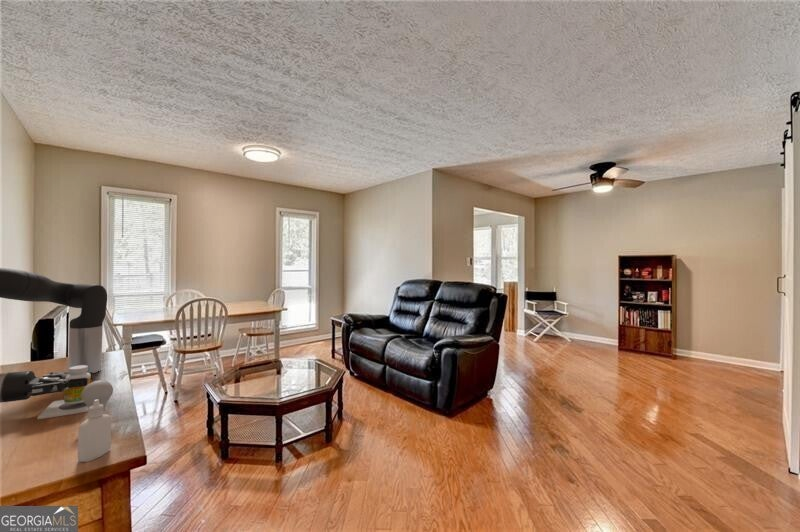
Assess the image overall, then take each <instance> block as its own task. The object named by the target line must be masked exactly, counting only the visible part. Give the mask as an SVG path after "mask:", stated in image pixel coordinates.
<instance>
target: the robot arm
mask: <svg viewBox="0 0 800 532" xmlns="http://www.w3.org/2000/svg"><path fill="white" fill-rule="evenodd" d="M0 298H1V299H7V300H14V301H21V302H33V303H34V302H37V303H39V302H40V303H41V302H42V303H43V302H47V303H54V304H57V305H62V306H66V307H70V308H74V309H81V310H80V311H81V312H80V314H79V316H76V317H75V318H72V319H70V321H69V326H68V327H69V329H68V332H69V333H68V336H69V337H68V357H67V358H68V362H67V371H52V372H48V374H43V375H42V376H38V377H36V375H35V372H34V371H33V370H25V371H14V372H12V371H11V372H4V373H3V372H2V373H0V403H9V402H10V403H11V402H18V401H25V400H29V399H30V398H32V397H36V396H42V395H48V394H55V393H62V392H65V390H66V389H69V388H72V387H81V386H86V385H87V384H88V378H77V379H70V381H69V379H65V378H66V377H67V376H68V375H70V374H69V368H70V367H73V366H80V365H87V366H88V371H87V373H90V374H91V380H92V379H93V378H94V374H96V373H98V371H99V372H101V370H102V361H103V360H102V359H103V356H102V355H103V328H104V327H103V325H104V320H105V318H106V315H107V305H108V304H107V303H108V292H107V290H106V288H105V287H104V286H103V285H101V284H99V283H98V284H95V283H69V282H61V281H60V282H59V281H55V280H52V279H50V278H48V277H47V276H44V275H43V274H38V273H36V272H32V271H25V270H21V269H14V268H5V267H0Z"/></svg>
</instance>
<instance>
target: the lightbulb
mask: <svg viewBox="0 0 800 532" xmlns="http://www.w3.org/2000/svg"><path fill="white" fill-rule="evenodd" d="M113 393H114V388H113V384H112V383H111V382H109V381H108V380H105V379H104V380H101V379H99V380H94V381H92V382H90V384H88V385H87V386H86V387H85V388H84V389H83V391H82V400H83V401H84V403H85V404H86V405H87V407H88V410H89V407H90V406H92V405H93V403H94V400H97V399H98V400H99V403H100V404H103V405H104V409H103V414H104V413H105V411H106V406H107V404H108V401H109V400H110V399H111V397H112V396H113Z"/></svg>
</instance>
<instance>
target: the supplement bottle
mask: <svg viewBox="0 0 800 532" xmlns="http://www.w3.org/2000/svg"><path fill="white" fill-rule="evenodd" d="M87 371H88V366H87V365H80V366H73V367H70V368H69V374H70V375H68V376H66V377H65V379H69V381H70V379H77V378H88V384H90V383H92V382H91V381H92V379H91V374H90V373H87ZM88 384H87V385H88ZM87 385H86V386H87ZM86 386H81V387H72V388H69V389H66V390H65V389H64V393H63V394H64V398H63V400H64V403H66V404H76V403H81V402H84V401H83V400H82V391H83V389H84V388H85V387H86Z"/></svg>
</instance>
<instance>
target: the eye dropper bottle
mask: <svg viewBox="0 0 800 532" xmlns="http://www.w3.org/2000/svg"><path fill="white" fill-rule="evenodd" d="M103 409H104V405H103V404H100V403H99V400H98V399H97V400H94V403H93V405H92V406H90V407H89V411H88V412H87V413H88V415H87V416H88V417H87V418H86V419H85V420H84V421H82V423H81V424H79V427H78V440H77V461H78V462H81V463H88V462H91V461H94V460H96V459H98V458H100V457H103V456H104V455H105V454H106V453H108V452H109V451H110V449H111V446H112V445H111V443H112V440H111V439H112V416H111V415H110V414H106V413H105V414H103Z"/></svg>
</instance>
